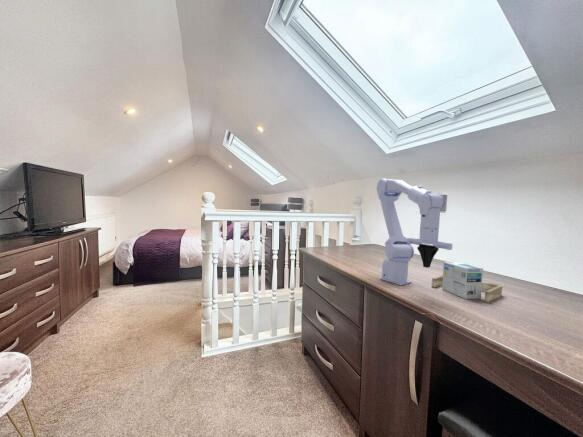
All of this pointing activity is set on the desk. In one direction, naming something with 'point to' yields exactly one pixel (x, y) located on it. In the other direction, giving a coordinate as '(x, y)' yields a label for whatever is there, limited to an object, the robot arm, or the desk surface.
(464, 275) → the light bulb box
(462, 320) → the desk surface
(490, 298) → the wooden frame
